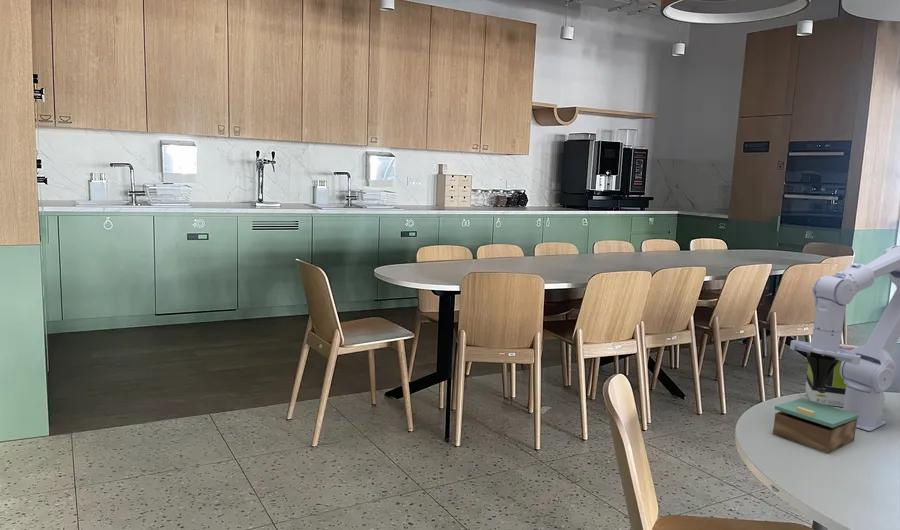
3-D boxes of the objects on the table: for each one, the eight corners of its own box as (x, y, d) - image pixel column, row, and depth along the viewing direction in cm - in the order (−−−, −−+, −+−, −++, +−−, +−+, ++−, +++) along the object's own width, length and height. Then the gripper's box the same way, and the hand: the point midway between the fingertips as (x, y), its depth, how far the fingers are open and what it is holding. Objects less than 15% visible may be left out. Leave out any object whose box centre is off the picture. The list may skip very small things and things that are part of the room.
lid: (802, 401, 161) (803, 393, 161) (859, 418, 152) (860, 410, 151) (774, 409, 153) (775, 401, 153) (832, 428, 143) (833, 419, 143)
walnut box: (799, 422, 162) (802, 402, 161) (854, 440, 152) (857, 419, 152) (772, 434, 154) (775, 413, 153) (828, 453, 144) (831, 431, 144)
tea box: (866, 400, 180) (875, 346, 178) (875, 413, 171) (884, 356, 168) (803, 391, 185) (810, 338, 183) (808, 403, 176) (816, 348, 173)
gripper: (787, 323, 157) (779, 380, 159) (854, 338, 146) (845, 399, 148) (801, 320, 161) (793, 375, 163) (868, 335, 150) (858, 394, 152)
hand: (819, 386), depth 156 cm, fingers closed
